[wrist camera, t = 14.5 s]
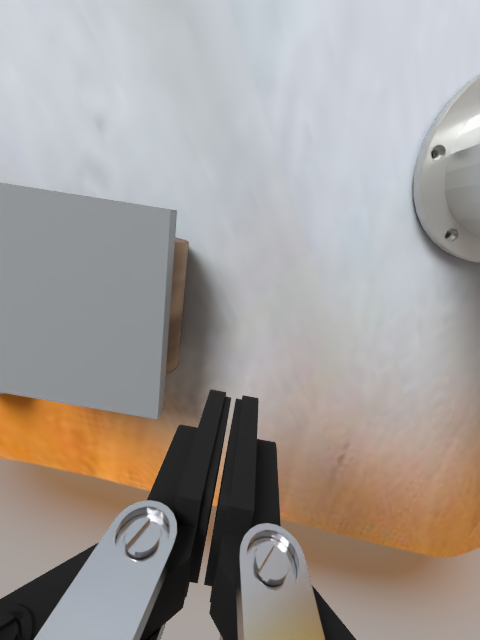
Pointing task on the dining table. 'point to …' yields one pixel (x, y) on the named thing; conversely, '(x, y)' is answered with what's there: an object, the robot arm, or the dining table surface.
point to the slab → (84, 299)
